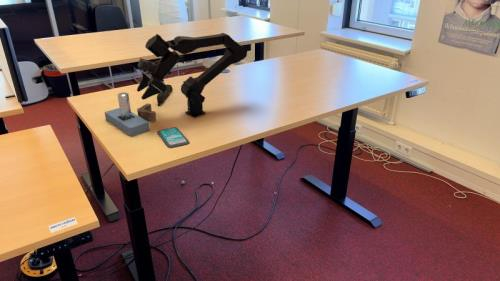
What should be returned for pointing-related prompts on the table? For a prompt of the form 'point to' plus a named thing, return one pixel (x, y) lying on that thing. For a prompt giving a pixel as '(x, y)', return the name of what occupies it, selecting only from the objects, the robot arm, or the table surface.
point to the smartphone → (172, 137)
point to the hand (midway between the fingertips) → (139, 94)
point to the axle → (124, 106)
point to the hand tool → (164, 95)
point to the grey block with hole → (127, 122)
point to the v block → (147, 113)
